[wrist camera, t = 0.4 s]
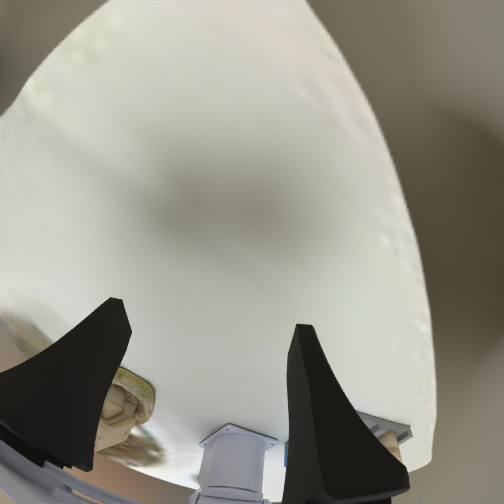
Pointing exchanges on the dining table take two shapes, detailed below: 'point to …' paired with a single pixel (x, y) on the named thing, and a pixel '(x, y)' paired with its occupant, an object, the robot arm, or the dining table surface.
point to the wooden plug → (390, 443)
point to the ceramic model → (124, 408)
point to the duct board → (378, 429)
